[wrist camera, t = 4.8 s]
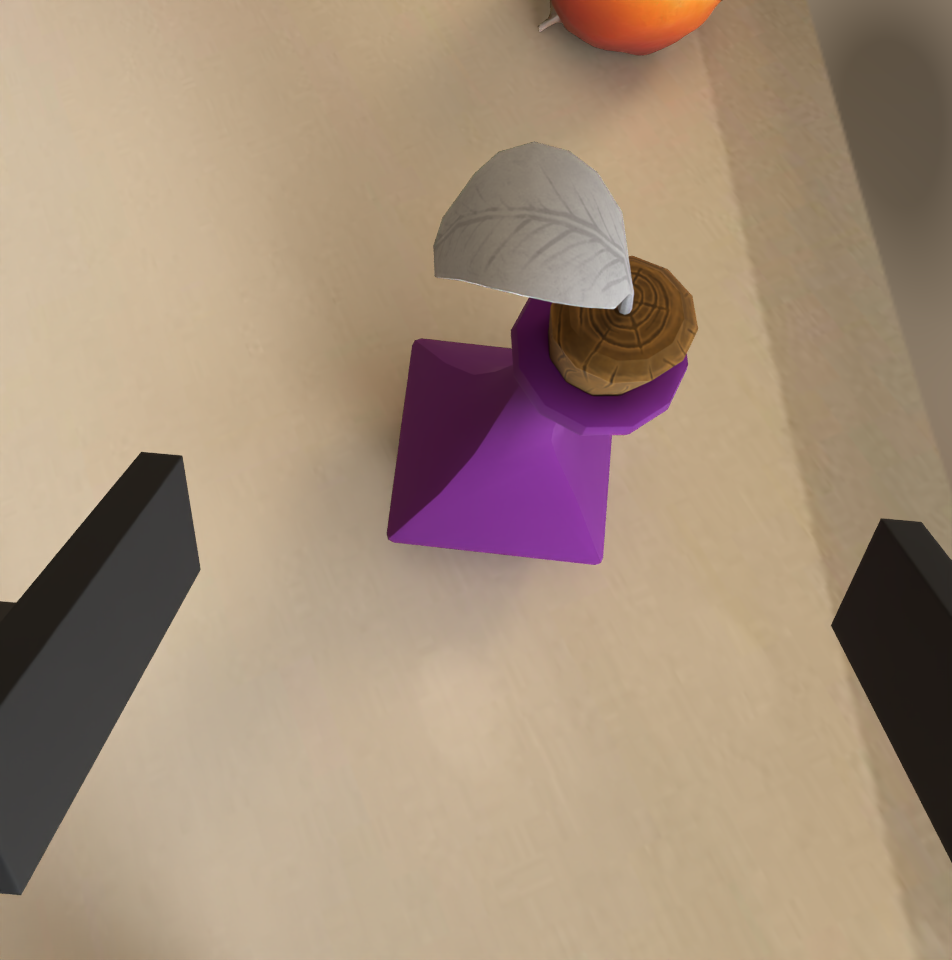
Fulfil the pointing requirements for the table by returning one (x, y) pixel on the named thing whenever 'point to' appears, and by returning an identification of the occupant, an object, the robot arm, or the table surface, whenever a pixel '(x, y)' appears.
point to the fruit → (630, 22)
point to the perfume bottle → (536, 366)
